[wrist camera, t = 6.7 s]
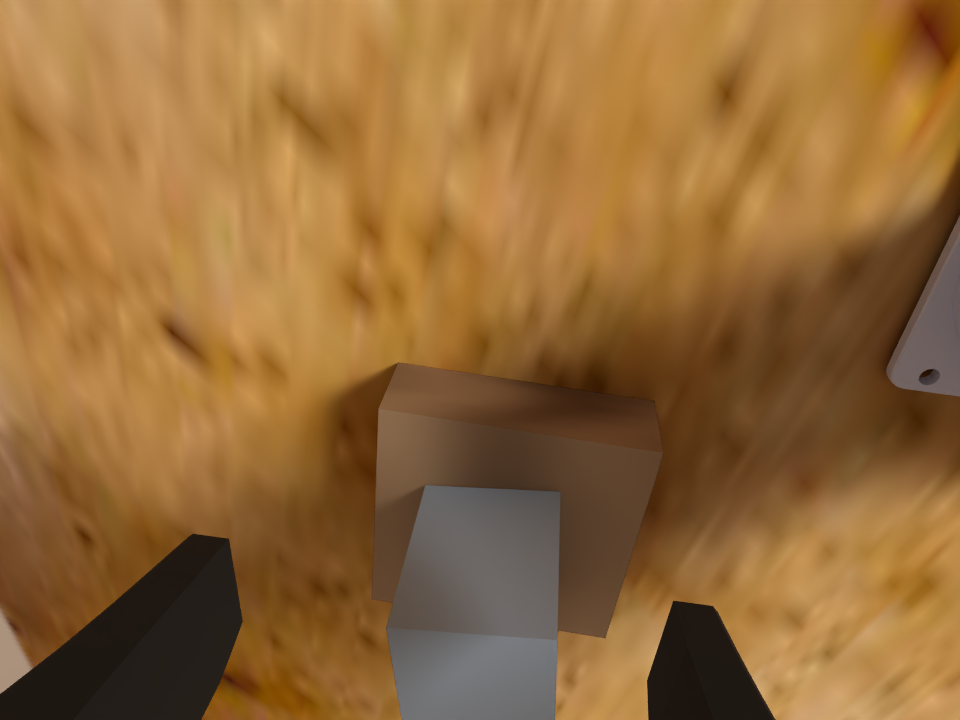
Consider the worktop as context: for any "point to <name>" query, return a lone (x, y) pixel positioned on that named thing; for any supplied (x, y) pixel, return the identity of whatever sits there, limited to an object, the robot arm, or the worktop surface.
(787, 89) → the worktop surface
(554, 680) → the gray block
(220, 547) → the robot arm
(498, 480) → the walnut block
